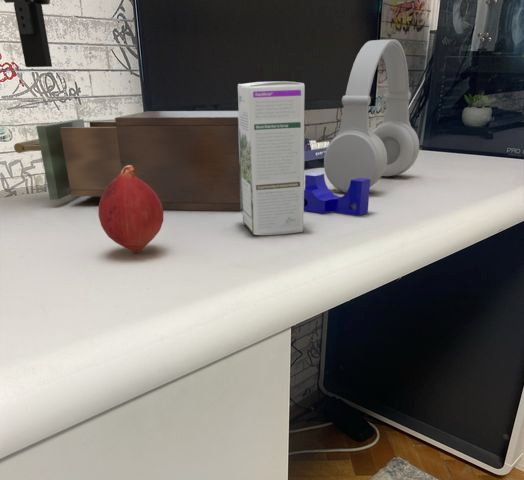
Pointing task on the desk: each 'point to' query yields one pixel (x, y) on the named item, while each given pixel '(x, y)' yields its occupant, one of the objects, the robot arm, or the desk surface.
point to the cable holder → (326, 201)
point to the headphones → (357, 122)
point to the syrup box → (272, 156)
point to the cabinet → (185, 157)
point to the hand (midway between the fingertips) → (39, 66)
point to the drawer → (76, 156)
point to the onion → (130, 211)
